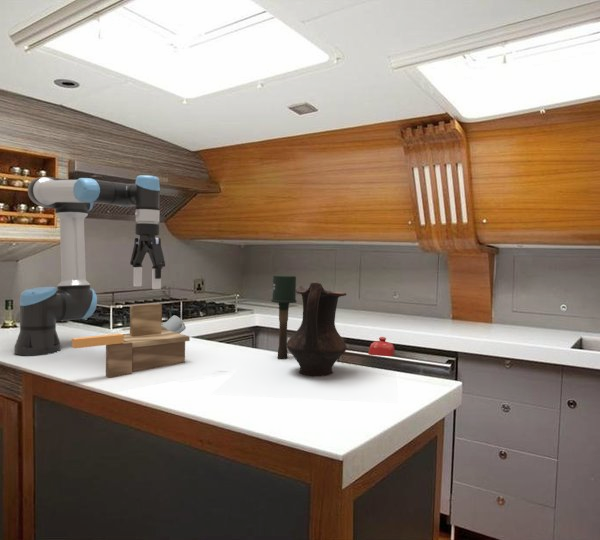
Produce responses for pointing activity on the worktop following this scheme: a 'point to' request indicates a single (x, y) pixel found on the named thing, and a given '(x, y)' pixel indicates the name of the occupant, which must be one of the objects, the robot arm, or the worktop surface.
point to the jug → (317, 332)
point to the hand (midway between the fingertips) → (146, 287)
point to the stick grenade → (283, 307)
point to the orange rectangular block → (97, 340)
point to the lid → (149, 327)
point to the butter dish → (381, 348)
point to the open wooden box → (141, 357)
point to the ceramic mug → (174, 325)
